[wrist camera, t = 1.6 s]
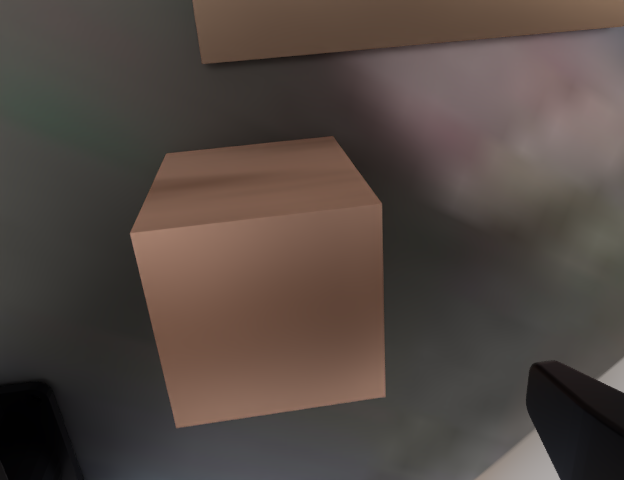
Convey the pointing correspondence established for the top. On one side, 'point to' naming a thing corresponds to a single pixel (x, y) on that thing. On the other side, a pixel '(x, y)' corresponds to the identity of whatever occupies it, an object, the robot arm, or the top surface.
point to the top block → (263, 279)
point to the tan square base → (380, 23)
